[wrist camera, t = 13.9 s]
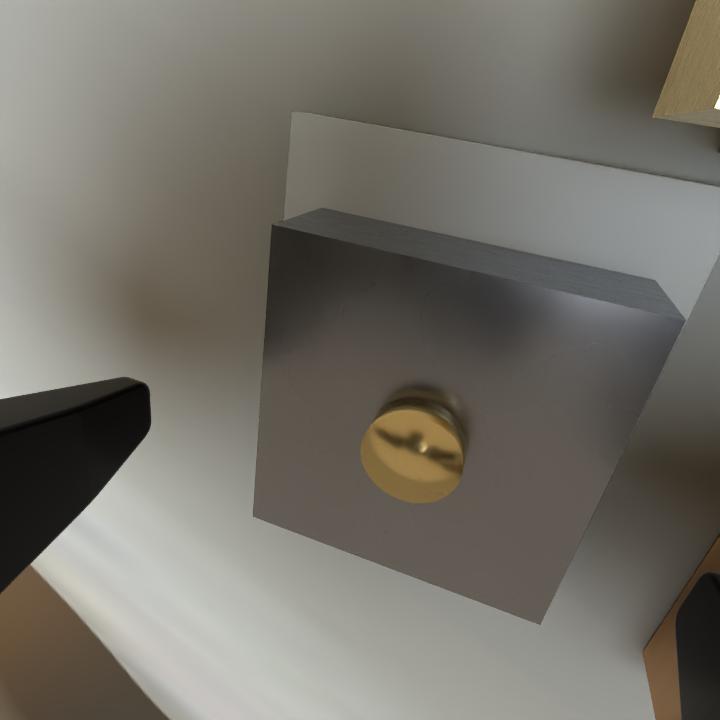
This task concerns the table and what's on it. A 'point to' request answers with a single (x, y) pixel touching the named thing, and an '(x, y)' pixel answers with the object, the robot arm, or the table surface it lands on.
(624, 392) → the cap plate
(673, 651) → the plane body
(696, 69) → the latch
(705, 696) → the robot arm
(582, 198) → the mat
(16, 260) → the table surface
